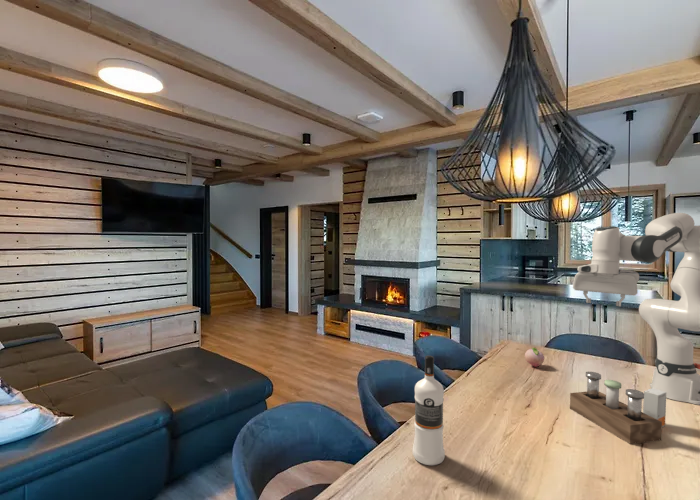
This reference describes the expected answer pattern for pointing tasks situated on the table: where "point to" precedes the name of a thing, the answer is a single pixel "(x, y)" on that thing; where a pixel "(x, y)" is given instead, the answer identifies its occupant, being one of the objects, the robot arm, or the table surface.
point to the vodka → (429, 418)
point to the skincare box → (655, 404)
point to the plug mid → (612, 394)
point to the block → (616, 419)
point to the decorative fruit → (534, 357)
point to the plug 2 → (634, 404)
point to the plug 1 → (593, 384)
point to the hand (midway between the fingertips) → (603, 304)
